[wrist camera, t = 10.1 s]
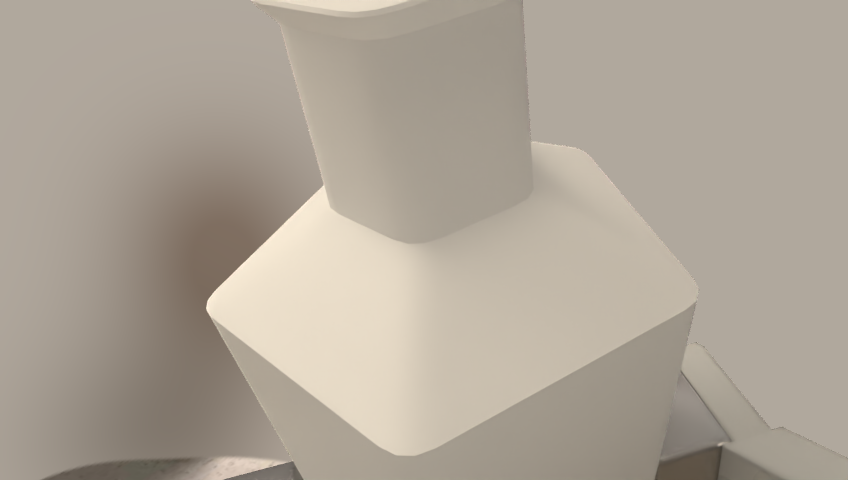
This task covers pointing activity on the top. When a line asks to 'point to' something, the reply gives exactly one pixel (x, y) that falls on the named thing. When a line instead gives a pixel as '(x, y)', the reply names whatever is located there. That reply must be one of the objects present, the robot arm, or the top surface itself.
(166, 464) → the top surface
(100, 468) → the top surface
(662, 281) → the white faceted vase
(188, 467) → the top surface
